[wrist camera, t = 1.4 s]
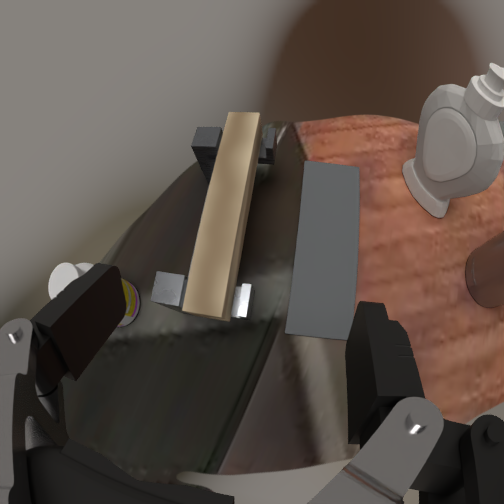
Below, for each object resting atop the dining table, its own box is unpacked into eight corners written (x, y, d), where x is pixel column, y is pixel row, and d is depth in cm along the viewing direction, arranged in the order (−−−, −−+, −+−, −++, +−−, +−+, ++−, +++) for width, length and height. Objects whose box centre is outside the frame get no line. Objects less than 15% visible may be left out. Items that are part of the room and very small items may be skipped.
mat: (358, 169, 41) (359, 167, 41) (349, 340, 34) (350, 340, 34) (304, 162, 42) (304, 160, 42) (284, 333, 36) (284, 333, 35)
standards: (278, 174, 42) (275, 128, 33) (256, 325, 36) (246, 317, 27) (214, 170, 44) (197, 126, 34) (183, 313, 38) (149, 300, 28)
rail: (262, 135, 35) (259, 112, 31) (229, 321, 29) (221, 317, 25) (234, 133, 35) (229, 112, 32) (195, 315, 29) (182, 310, 25)
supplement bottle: (127, 271, 40) (73, 240, 28) (149, 309, 38) (95, 290, 26) (95, 298, 40) (36, 277, 27) (115, 336, 38) (54, 327, 25)
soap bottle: (466, 213, 37) (559, 115, 14) (435, 233, 37) (537, 128, 14) (420, 147, 42) (476, 30, 18) (387, 162, 41) (439, 30, 18)
